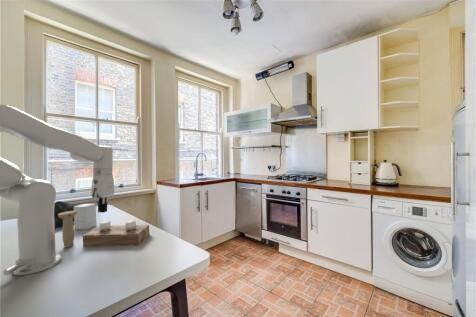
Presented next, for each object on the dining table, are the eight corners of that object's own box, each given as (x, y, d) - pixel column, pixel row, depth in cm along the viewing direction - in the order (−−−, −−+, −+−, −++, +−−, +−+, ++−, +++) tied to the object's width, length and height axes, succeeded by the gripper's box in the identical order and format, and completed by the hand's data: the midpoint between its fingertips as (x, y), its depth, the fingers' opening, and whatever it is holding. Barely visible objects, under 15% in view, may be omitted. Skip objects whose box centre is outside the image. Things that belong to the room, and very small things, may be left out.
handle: (57, 247, 89) (56, 213, 88) (75, 242, 94) (74, 210, 94) (61, 250, 86) (60, 215, 86) (79, 244, 91) (78, 211, 91)
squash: (79, 209, 132) (58, 195, 124) (86, 214, 122) (64, 199, 114) (58, 228, 124) (34, 214, 116) (63, 235, 115) (38, 220, 106)
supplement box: (97, 225, 117) (96, 203, 117) (86, 229, 110) (85, 206, 110) (85, 224, 118) (84, 203, 118) (73, 229, 111) (73, 206, 110)
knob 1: (107, 240, 93) (106, 223, 93) (97, 240, 93) (97, 224, 93) (112, 236, 97) (112, 220, 97) (103, 236, 97) (103, 220, 97)
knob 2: (133, 239, 93) (133, 223, 93) (123, 239, 93) (123, 223, 93) (138, 235, 98) (137, 220, 97) (128, 235, 98) (128, 220, 97)
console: (137, 245, 89) (137, 234, 89) (83, 246, 89) (82, 235, 89) (149, 234, 101) (149, 224, 101) (101, 235, 101) (100, 225, 101)
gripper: (100, 173, 87) (100, 216, 87) (120, 171, 102) (119, 208, 102) (82, 173, 87) (82, 216, 87) (105, 171, 102) (104, 208, 102)
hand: (102, 211), depth 94 cm, fingers closed
